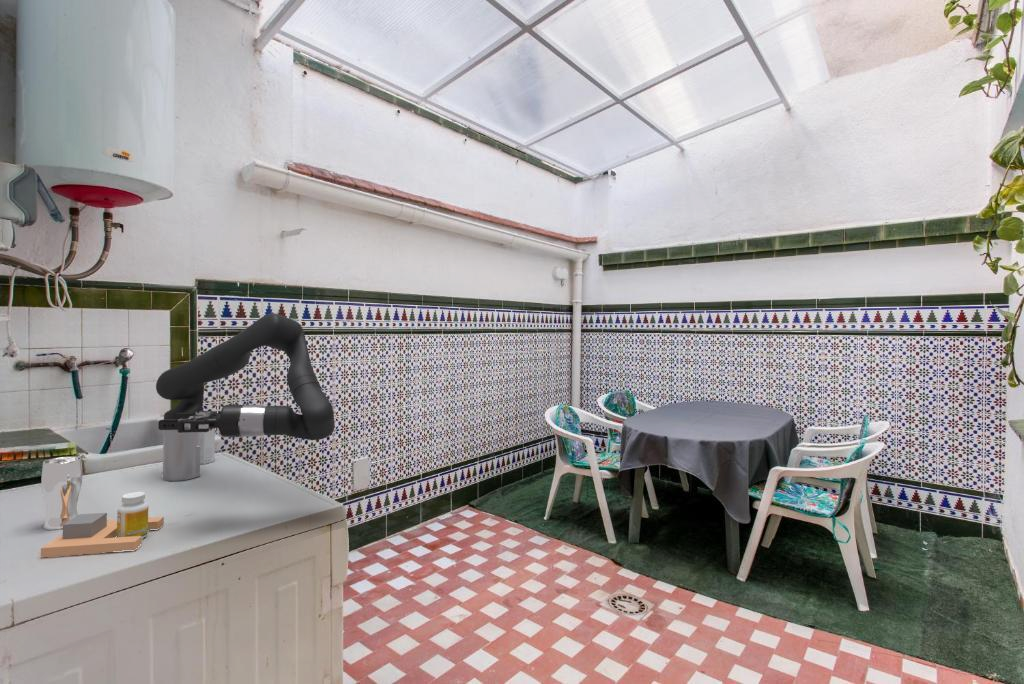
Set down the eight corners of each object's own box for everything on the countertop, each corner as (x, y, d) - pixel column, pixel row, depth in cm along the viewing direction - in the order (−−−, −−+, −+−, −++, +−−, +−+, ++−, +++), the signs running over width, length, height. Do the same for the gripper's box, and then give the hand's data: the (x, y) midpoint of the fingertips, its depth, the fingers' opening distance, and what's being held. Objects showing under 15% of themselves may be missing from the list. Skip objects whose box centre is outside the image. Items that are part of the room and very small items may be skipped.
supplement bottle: (110, 543, 105) (110, 498, 105) (130, 532, 111) (131, 490, 110) (134, 544, 105) (135, 499, 105) (153, 534, 110) (154, 491, 110)
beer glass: (46, 533, 109) (47, 465, 109) (36, 526, 113) (37, 460, 112) (86, 523, 115) (87, 459, 115) (75, 517, 119) (76, 454, 118)
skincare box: (215, 461, 170) (215, 427, 170) (203, 464, 166) (204, 429, 166) (201, 459, 172) (202, 425, 172) (190, 462, 168) (191, 427, 168)
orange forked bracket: (163, 525, 115) (164, 503, 115) (135, 551, 102) (135, 527, 102) (81, 530, 111) (82, 508, 111) (40, 558, 98) (41, 533, 98)
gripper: (253, 400, 124) (179, 400, 120) (237, 409, 111) (153, 409, 106) (252, 430, 125) (178, 431, 120) (236, 443, 111) (152, 444, 107)
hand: (167, 421), depth 113 cm, fingers open, 8 cm apart
